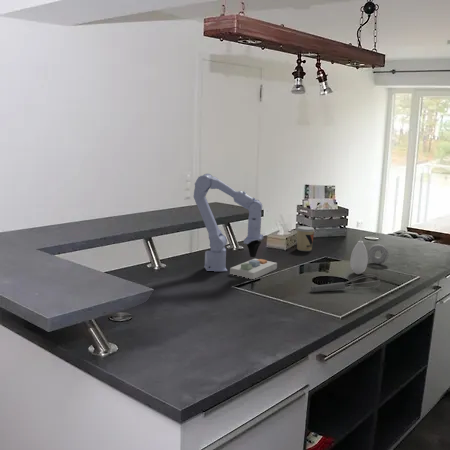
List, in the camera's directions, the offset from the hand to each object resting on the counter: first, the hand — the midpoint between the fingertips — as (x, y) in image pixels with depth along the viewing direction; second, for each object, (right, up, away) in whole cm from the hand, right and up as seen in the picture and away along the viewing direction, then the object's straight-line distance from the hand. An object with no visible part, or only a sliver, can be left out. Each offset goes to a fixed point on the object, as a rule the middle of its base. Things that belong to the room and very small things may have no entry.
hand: (252, 256), depth 245 cm
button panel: (+1, -7, +3) cm, 7 cm away
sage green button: (-3, -6, -4) cm, 8 cm away
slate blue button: (+1, -5, +2) cm, 6 cm away
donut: (+63, -5, +25) cm, 68 cm away
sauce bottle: (+49, -8, +6) cm, 50 cm away
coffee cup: (+31, +1, +49) cm, 58 cm away
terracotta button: (+5, -5, +8) cm, 11 cm away
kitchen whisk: (+37, -13, -19) cm, 44 cm away
